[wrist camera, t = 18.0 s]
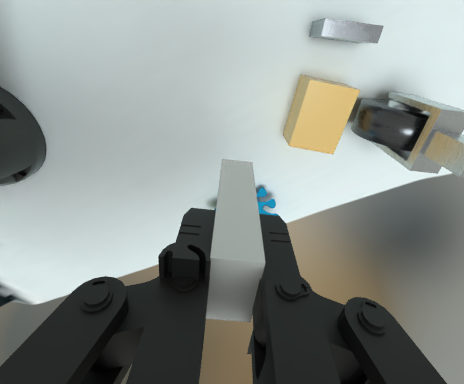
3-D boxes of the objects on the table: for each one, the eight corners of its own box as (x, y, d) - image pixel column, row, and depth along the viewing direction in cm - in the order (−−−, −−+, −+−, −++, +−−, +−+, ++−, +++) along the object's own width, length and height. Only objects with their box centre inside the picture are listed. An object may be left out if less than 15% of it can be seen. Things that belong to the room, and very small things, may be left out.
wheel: (336, 131, 36) (404, 192, 22) (352, 84, 33) (444, 119, 18) (403, 138, 37) (515, 203, 22) (425, 93, 33) (572, 134, 19)
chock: (282, 133, 37) (289, 146, 32) (300, 74, 33) (310, 79, 28) (322, 141, 37) (333, 154, 33) (344, 83, 33) (360, 90, 29)
